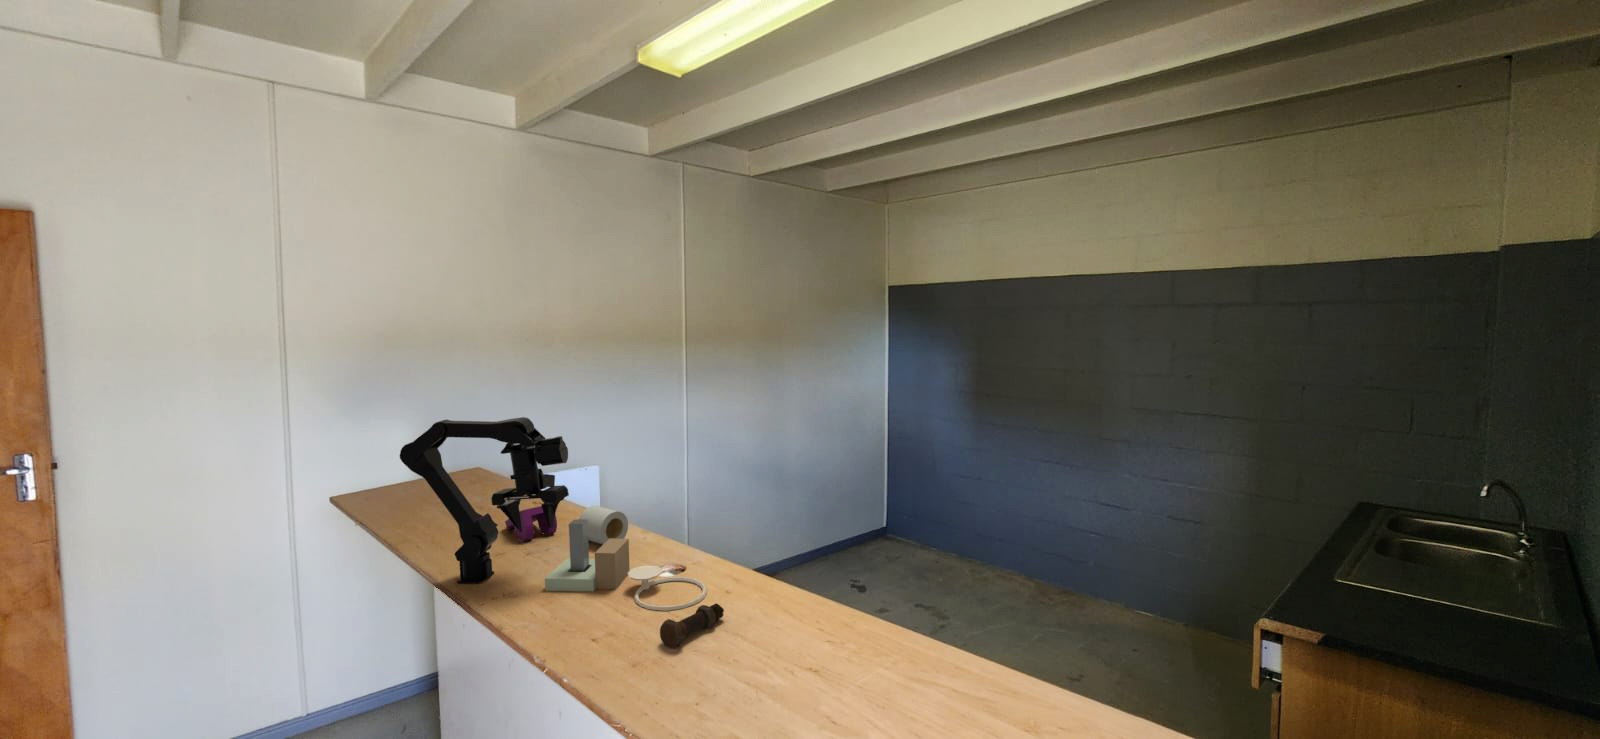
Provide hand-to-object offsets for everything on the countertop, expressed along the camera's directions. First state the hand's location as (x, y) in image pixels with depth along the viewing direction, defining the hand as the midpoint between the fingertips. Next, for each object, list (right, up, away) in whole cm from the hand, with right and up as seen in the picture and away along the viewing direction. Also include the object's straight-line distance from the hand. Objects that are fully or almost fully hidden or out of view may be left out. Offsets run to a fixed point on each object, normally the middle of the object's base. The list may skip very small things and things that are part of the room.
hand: (535, 528), depth 163 cm
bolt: (+45, -15, -28) cm, 55 cm away
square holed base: (+14, -13, -1) cm, 19 cm away
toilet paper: (+10, -11, +26) cm, 29 cm away
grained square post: (+12, -13, -1) cm, 17 cm away
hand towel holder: (+35, -14, -9) cm, 39 cm away
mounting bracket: (-16, -10, +35) cm, 40 cm away
